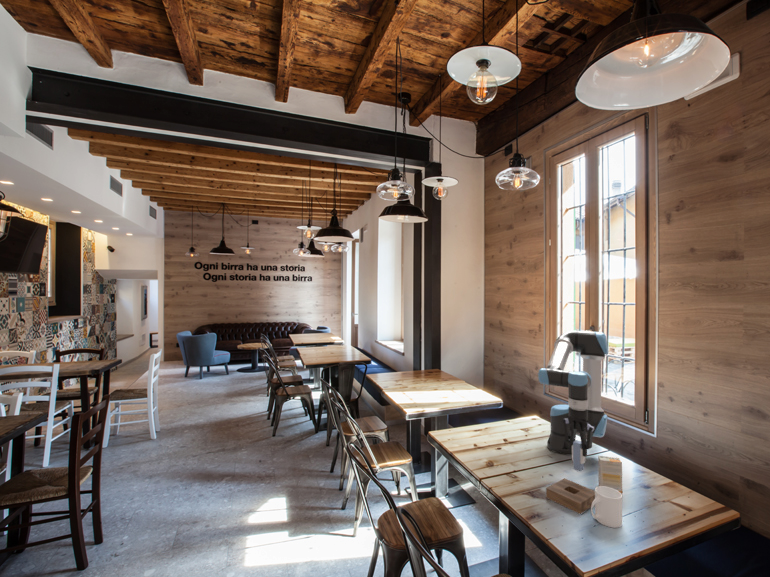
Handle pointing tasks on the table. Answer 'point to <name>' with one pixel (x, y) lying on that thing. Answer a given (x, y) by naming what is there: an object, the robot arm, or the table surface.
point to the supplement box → (610, 472)
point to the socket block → (571, 495)
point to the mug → (607, 506)
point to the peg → (577, 456)
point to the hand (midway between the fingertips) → (578, 461)
